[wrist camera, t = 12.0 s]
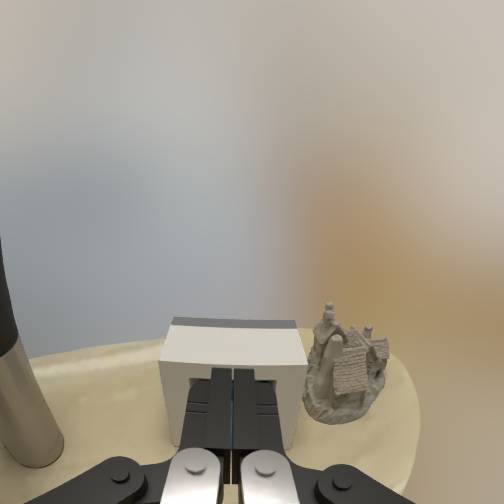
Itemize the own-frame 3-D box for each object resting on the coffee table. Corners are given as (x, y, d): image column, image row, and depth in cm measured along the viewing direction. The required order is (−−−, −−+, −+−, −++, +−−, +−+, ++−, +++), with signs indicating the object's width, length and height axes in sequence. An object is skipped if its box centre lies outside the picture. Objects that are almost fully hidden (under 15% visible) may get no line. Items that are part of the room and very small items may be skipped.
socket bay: (174, 446, 33) (158, 360, 29) (182, 401, 42) (173, 316, 37) (290, 449, 34) (308, 364, 29) (282, 403, 43) (294, 320, 38)
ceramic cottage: (301, 424, 38) (326, 337, 34) (294, 360, 54) (310, 285, 50) (398, 423, 38) (437, 342, 34) (373, 365, 54) (395, 294, 50)
